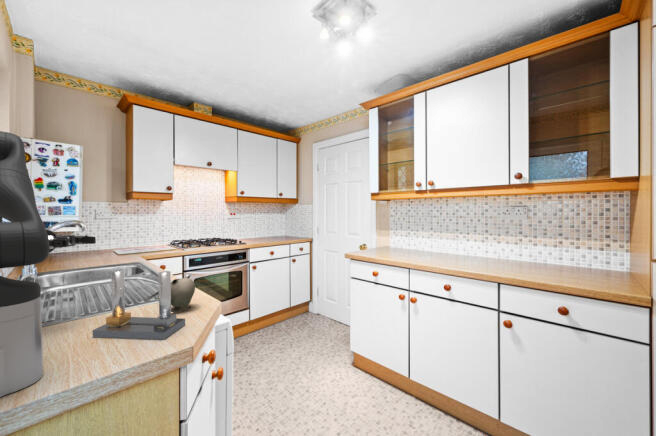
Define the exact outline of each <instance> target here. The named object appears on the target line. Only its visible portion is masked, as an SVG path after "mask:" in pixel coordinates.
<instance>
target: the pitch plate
mask: <svg viewBox="0 0 656 436" xmlns="http://www.w3.org/2000/svg"><path fill="white" fill-rule="evenodd" d="M171 278H172V277H171V271H168V270H166V271H159V272H158V291H159V294H158V299H159V302H158V304H159V305H158V314H159V315H158V316H157V317H149V316H148V317H146V316H145V317H144V316H141V317H140V316H131V319H130V320H128V321H126V322H124V323H122V324H120V325H106V323H105V324H103V325H101V326H99V327H96V328H94V329H92V338H101V339H102V338H104V339H126V340H127V339H129V340H131V339H132V340H133V339H134V340H157V341H159V340H160V341H165V340H166V339H167V338H169V337H170V336H172V335H173V334H175V333H176V332H178V331H179V330H181V329H182V328H183V327H185V326H186V318H178V317H177V314H175V313H171V309H172V305H171V282H172V280H171Z"/></svg>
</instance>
